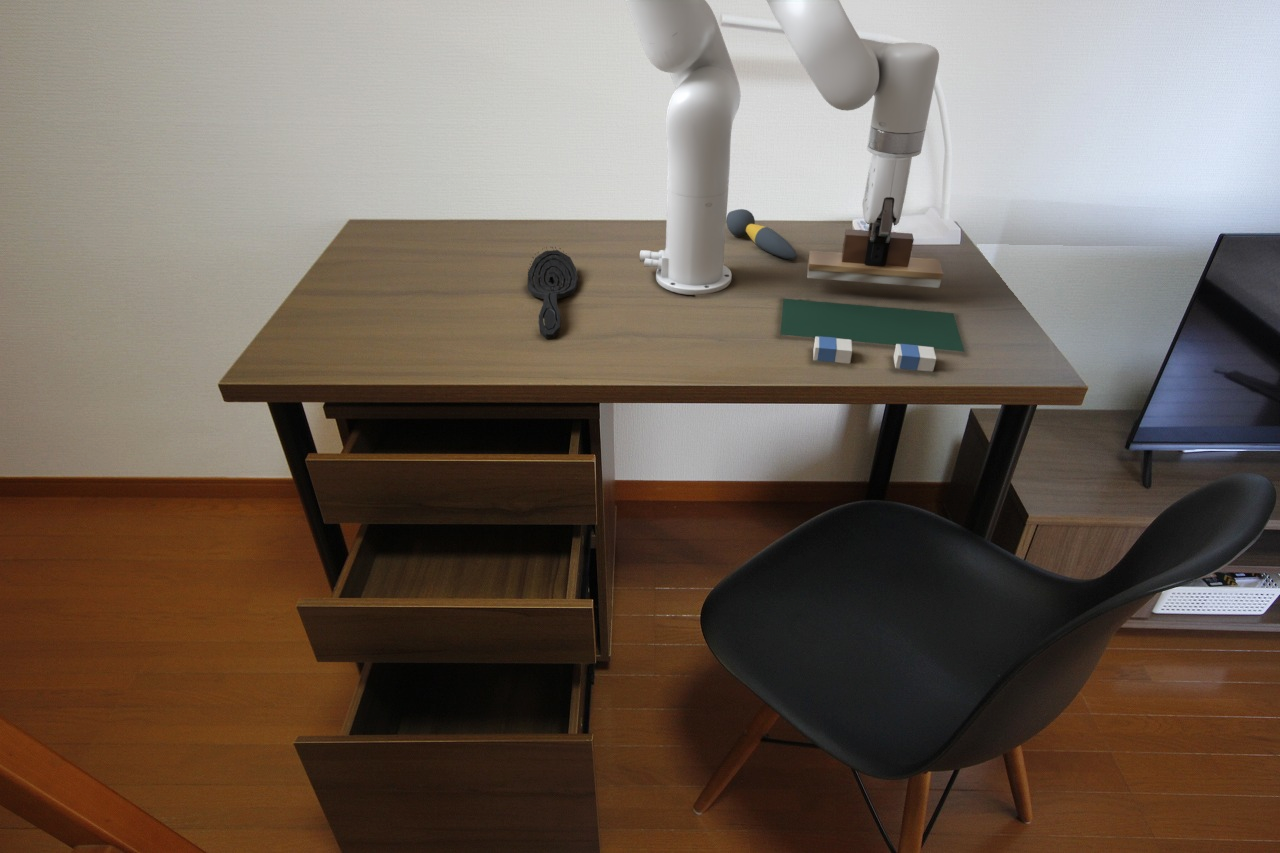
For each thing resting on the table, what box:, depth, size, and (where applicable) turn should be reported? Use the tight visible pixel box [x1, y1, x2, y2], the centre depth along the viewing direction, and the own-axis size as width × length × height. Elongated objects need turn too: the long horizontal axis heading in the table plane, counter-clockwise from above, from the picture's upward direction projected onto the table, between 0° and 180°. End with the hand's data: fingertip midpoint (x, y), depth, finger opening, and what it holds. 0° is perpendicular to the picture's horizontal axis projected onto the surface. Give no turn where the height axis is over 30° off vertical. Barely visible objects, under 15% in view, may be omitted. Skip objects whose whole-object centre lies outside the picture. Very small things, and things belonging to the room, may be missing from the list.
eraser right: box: [893, 344, 937, 372], centre depth 107 cm, size 5×3×2 cm, turn 79°
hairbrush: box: [527, 246, 579, 340], centre depth 123 cm, size 8×4×25 cm
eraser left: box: [812, 336, 853, 364], centre depth 109 cm, size 5×3×2 cm, turn 79°
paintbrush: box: [726, 208, 798, 261], centre depth 141 cm, size 20×5×5 cm, turn 38°
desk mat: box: [779, 298, 966, 353], centre depth 117 cm, size 26×12×1 cm, turn 79°
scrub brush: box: [806, 228, 944, 289], centre depth 121 cm, size 20×5×7 cm, turn 79°
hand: (874, 259), depth 122 cm, fingers closed on scrub brush, 2 cm apart
